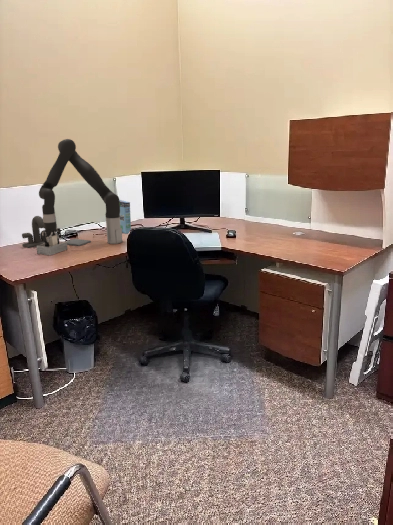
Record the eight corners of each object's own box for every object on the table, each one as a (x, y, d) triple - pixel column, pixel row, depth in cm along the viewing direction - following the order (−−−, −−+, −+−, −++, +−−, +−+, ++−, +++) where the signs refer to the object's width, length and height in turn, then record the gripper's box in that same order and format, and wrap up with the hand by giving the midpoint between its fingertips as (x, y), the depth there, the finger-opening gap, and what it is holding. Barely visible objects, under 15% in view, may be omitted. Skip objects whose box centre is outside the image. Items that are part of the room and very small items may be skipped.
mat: (91, 242, 283) (90, 240, 282) (79, 246, 272) (79, 244, 272) (75, 240, 289) (74, 238, 288) (62, 244, 278) (62, 242, 278)
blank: (58, 250, 262) (56, 235, 259) (53, 252, 259) (52, 236, 256) (52, 250, 264) (50, 234, 261) (47, 251, 261) (46, 236, 258)
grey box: (67, 249, 265) (66, 241, 264) (49, 255, 252) (48, 247, 251) (55, 247, 270) (54, 240, 268) (37, 253, 257) (36, 245, 255)
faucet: (33, 250, 264) (29, 219, 258) (21, 246, 274) (17, 216, 268) (59, 244, 276) (55, 215, 270) (47, 241, 287) (43, 212, 281)
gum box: (113, 229, 319) (110, 199, 313) (118, 228, 322) (116, 199, 316) (125, 233, 305) (123, 202, 298) (131, 232, 308) (130, 202, 301)
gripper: (45, 223, 248) (48, 249, 253) (62, 219, 260) (65, 244, 265) (36, 222, 251) (39, 248, 256) (53, 218, 264) (56, 243, 268)
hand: (52, 246), depth 261 cm, fingers open, 8 cm apart
